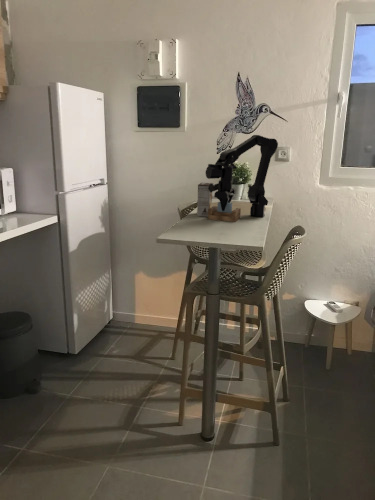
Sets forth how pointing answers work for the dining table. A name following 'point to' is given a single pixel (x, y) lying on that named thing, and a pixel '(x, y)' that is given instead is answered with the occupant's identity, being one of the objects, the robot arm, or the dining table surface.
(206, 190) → the coffee box
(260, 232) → the dining table surface
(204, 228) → the dining table surface
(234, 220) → the brown frame
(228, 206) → the blue-gray rectangular block
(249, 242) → the dining table surface
